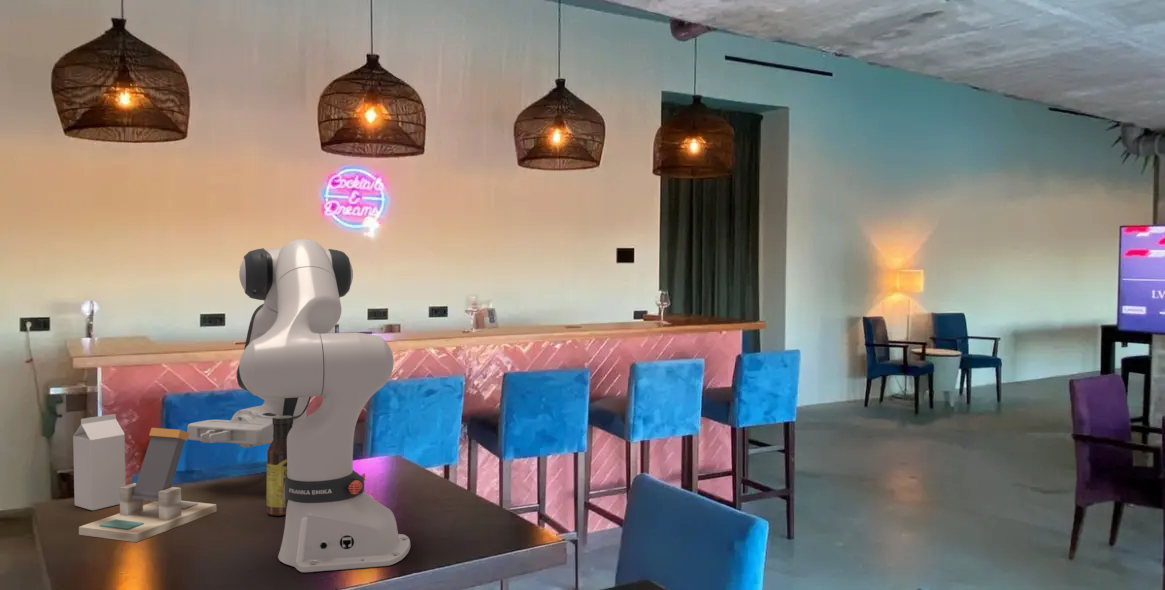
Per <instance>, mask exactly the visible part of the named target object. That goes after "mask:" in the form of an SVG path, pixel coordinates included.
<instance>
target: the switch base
mask: <svg viewBox="0 0 1165 590" xmlns="http://www.w3.org/2000/svg"><path fill="white" fill-rule="evenodd" d="M136 483H137V482H133V483H130V484H126V486H123V487H120V504H119V513H116V514H114V515H110V516H107V517H105V518H104V517H103V518H101V519H98V520H96V521H92V522H89V523H86V524H83V525H81V526H78V535H79V536H86V537H95V538H100V539H109V540H117V541H124V542H131V543H138V542H141V541H144V540H146V539H149V538H151V537H154V536H156V535H159V534H162V533H164V532H167V531H169V530H172V529H174V528H178V527H180V526H183V525H186V524H188V523H191V522H194V521H196V520H198V519H201V518H203V517H206V516H209V515H211V514H214V513H216V512H217V510H218V509H217V504H216V503H208V502H207V503H206V502H200V501H199V502H197V501H188V500H182V488H181V487H176V486H171V488H168V489H165V490H162V491H159V492H158V496H159V502H157V501H151V502H149V503H145V504H144V503H143V502H144V500H139V499H134V498H132V495H133V492H134V489H135V486H136Z"/></svg>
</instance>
